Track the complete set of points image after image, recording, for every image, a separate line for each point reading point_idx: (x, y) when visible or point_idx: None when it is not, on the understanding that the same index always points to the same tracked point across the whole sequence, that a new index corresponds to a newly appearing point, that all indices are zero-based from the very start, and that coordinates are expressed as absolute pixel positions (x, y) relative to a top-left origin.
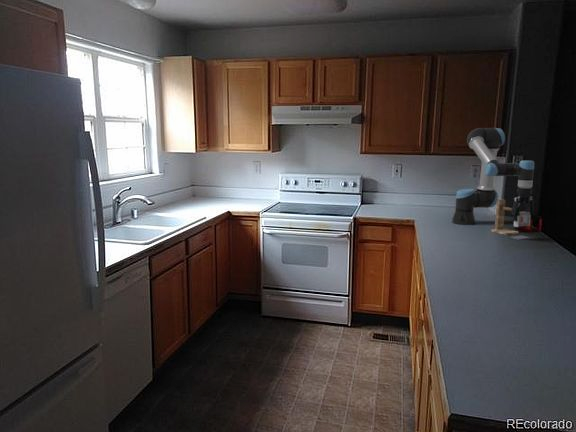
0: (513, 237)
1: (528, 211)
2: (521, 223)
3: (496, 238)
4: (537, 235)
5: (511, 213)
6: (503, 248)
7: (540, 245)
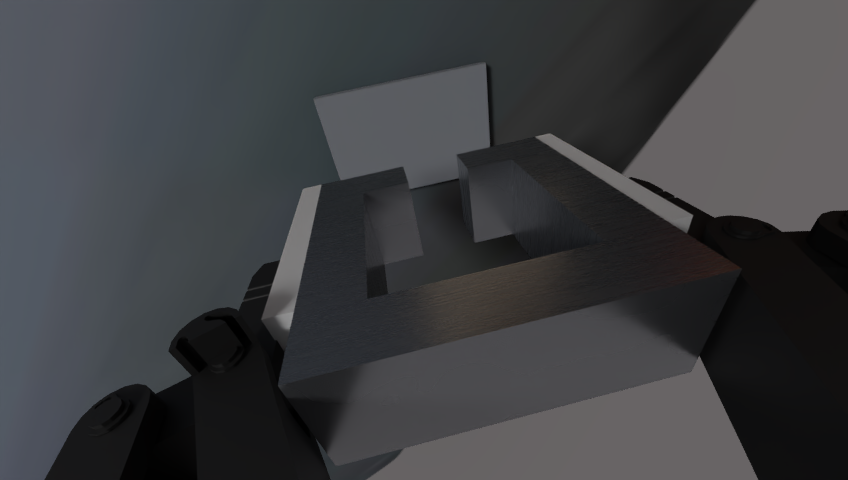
0: (328, 139)
1: (719, 341)
2: (411, 244)
3: (118, 93)
4: (665, 58)
5: (83, 435)
6: (89, 389)
7: None
